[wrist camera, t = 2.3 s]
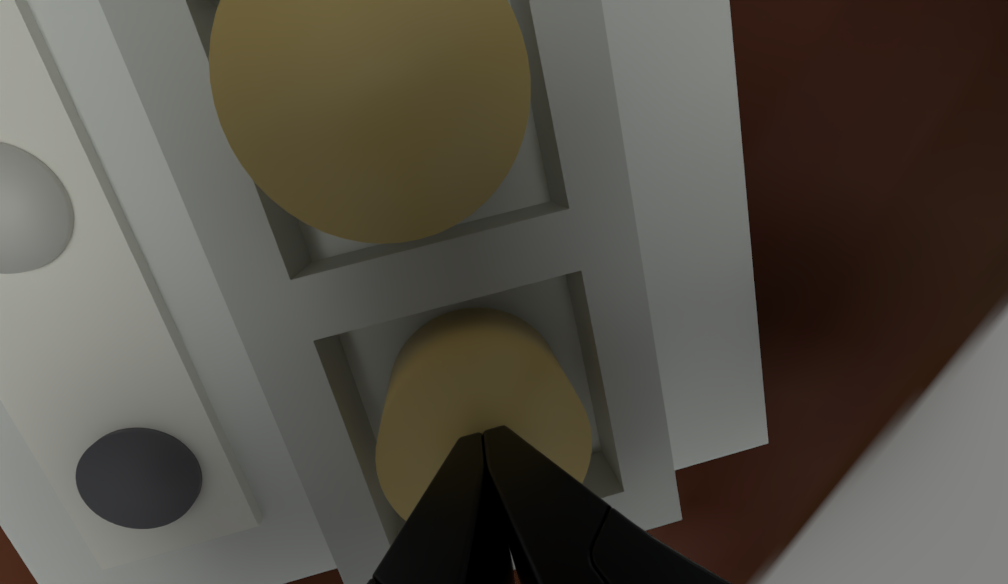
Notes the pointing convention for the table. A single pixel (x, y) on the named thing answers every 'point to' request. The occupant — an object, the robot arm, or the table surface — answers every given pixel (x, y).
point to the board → (343, 292)
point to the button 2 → (474, 399)
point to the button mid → (372, 108)
